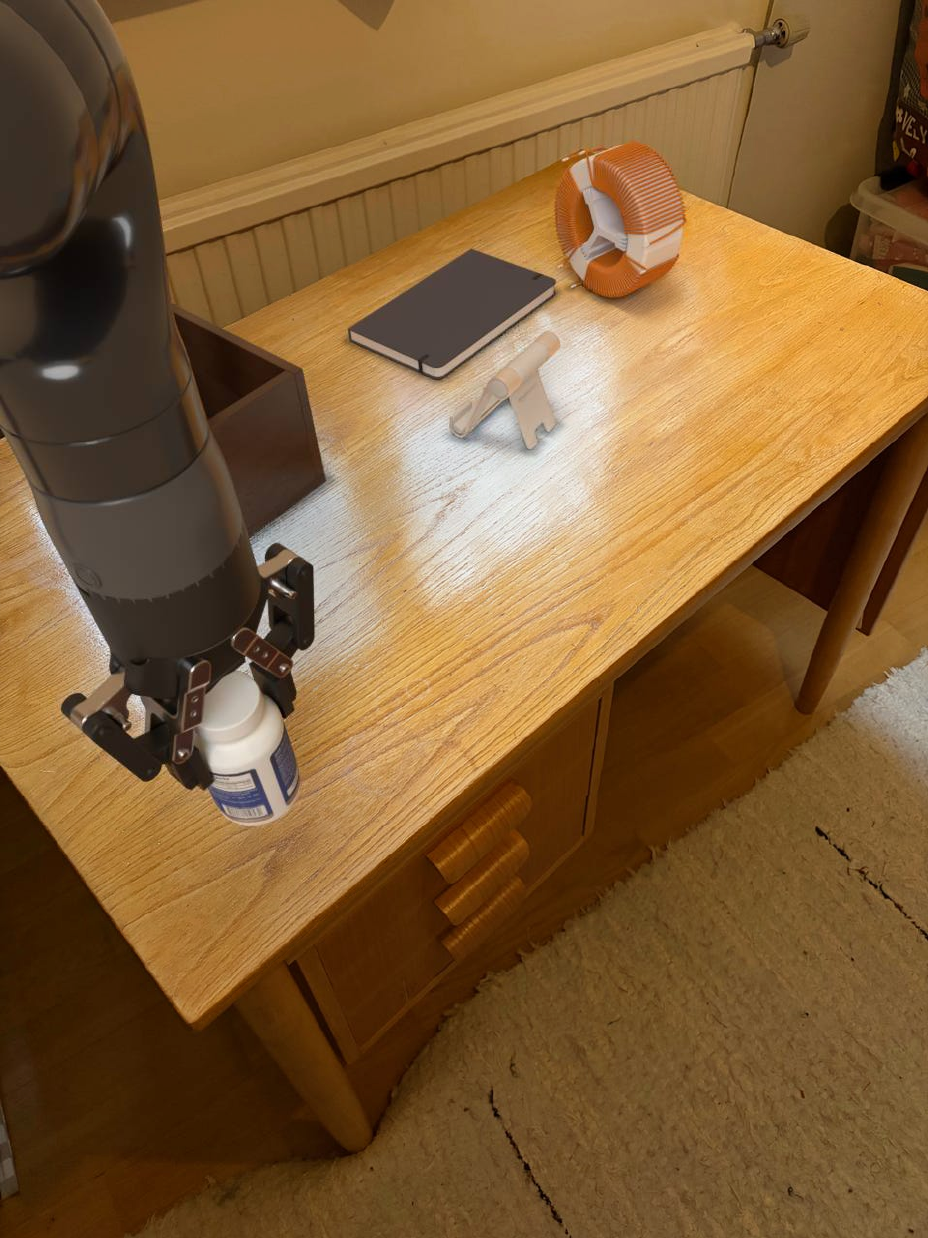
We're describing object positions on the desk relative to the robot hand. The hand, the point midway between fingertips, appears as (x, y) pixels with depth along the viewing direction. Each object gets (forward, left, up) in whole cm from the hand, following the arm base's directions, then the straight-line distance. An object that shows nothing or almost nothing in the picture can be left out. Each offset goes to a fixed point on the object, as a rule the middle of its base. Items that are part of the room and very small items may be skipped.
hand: (239, 741), depth 50 cm
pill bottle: (0, 0, -6) cm, 6 cm away
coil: (+36, +63, -11) cm, 74 cm away
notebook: (+18, +60, -11) cm, 64 cm away
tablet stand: (+21, +40, -11) cm, 47 cm away
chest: (-8, +36, -11) cm, 38 cm away
